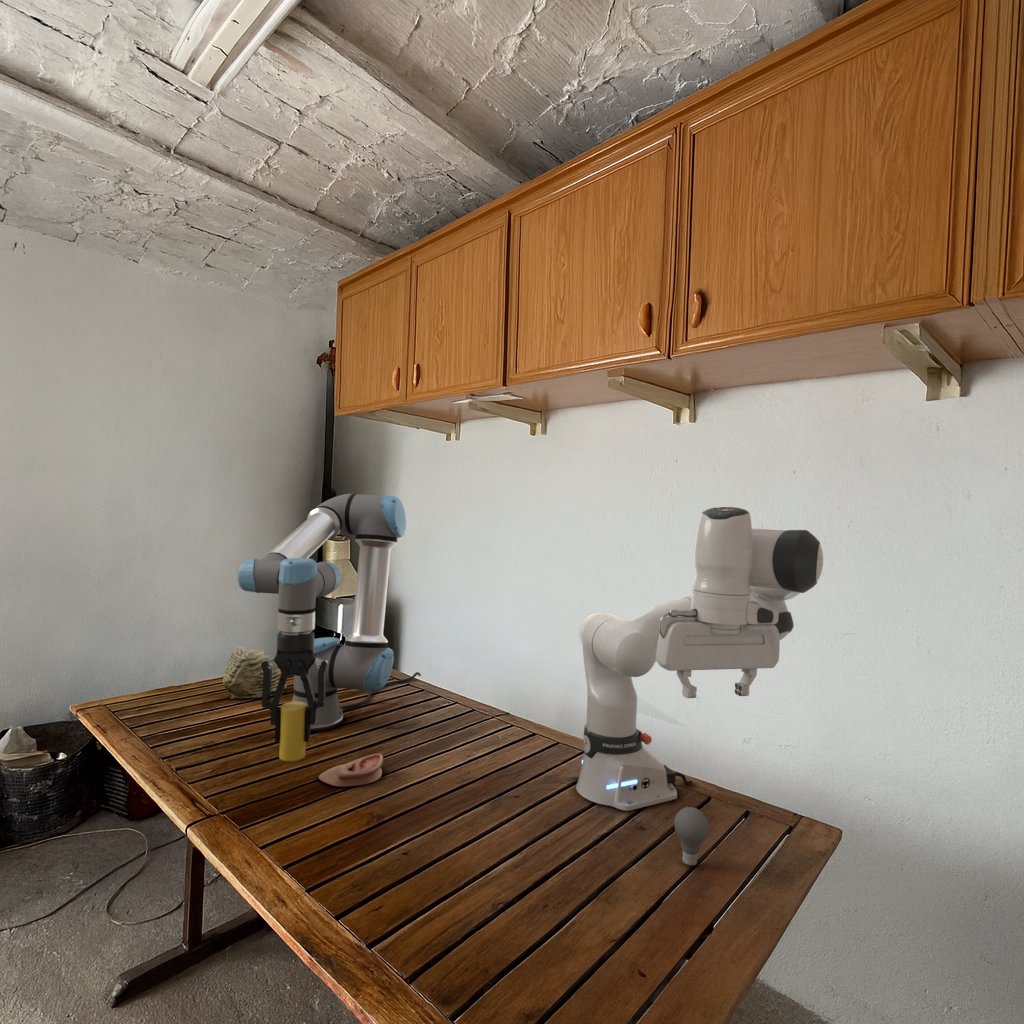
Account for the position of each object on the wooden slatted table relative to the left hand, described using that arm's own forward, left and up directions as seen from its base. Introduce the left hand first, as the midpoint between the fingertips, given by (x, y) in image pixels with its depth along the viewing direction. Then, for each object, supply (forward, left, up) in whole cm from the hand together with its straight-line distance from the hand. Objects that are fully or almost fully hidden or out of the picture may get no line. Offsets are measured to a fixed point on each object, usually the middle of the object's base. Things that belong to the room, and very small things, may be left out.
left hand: (292, 738), depth 135 cm
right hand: (-22, +83, +23) cm, 89 cm away
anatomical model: (-13, +3, -11) cm, 18 cm away
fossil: (-28, -65, -11) cm, 72 cm away
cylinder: (0, 0, -4) cm, 4 cm away
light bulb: (-33, +76, -11) cm, 83 cm away
